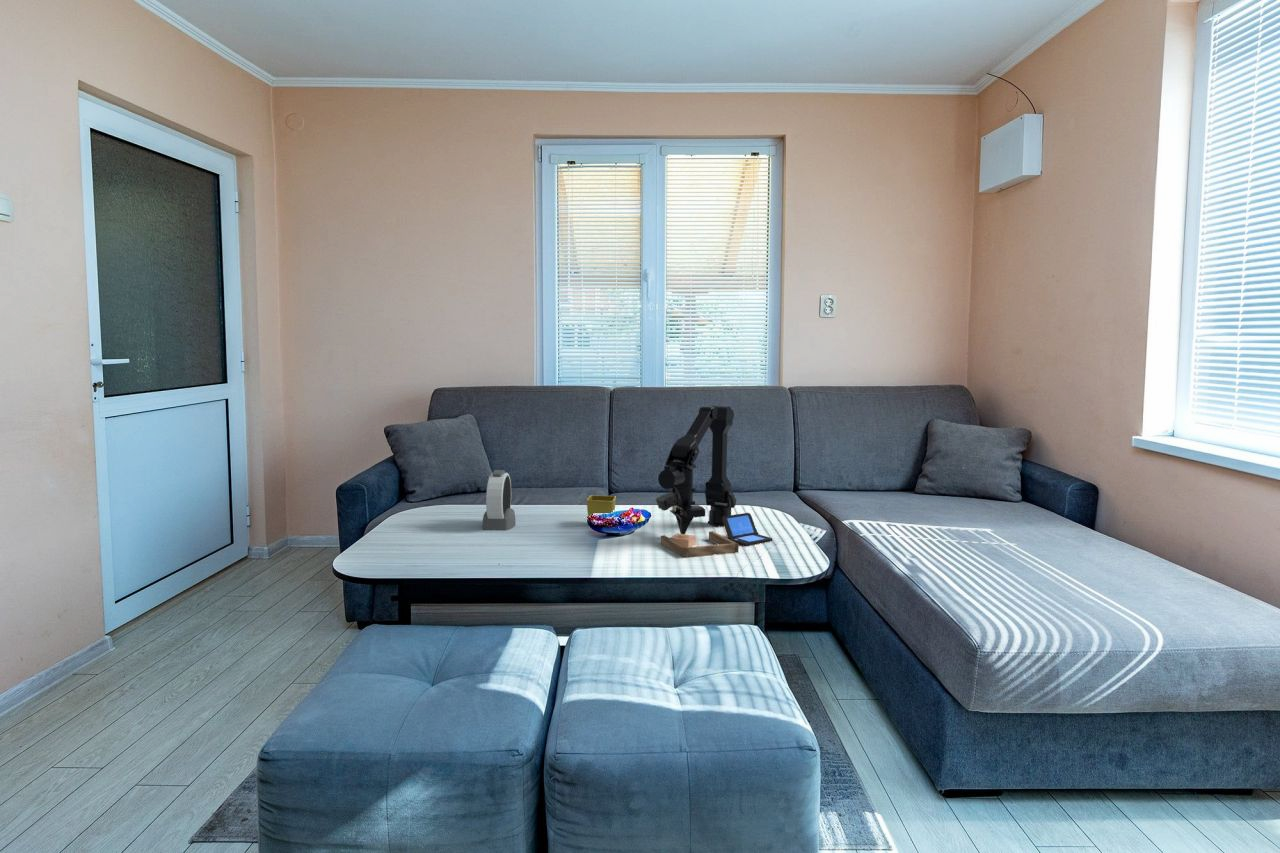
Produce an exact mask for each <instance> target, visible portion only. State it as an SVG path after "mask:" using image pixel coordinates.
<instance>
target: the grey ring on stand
mask: <svg viewBox="0 0 1280 853" xmlns="http://www.w3.org/2000/svg"><path fill="white" fill-rule="evenodd" d="M486 485H487V486H486V494H485V495H486V496H485V498H486V499H485V506H486V507H485V508H486V511H485V512H484V513H483V516H482V530H484V531H509V530H512V529H513V528H514V527H516V514H515V513H516V512H515V510H514V509H513V508H511V505H512V504H511V503H512V481H511V477H510V474H509V473H508V472H506V470H504V469H494V470H493V471H492V472H491V474H489V476H488V481H487V484H486Z"/></svg>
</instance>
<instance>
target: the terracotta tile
mask: <svg viewBox="0 0 1280 853" xmlns="http://www.w3.org/2000/svg"><path fill="white" fill-rule="evenodd" d="M669 538H670V539H672V540H674V541H675V542H677V543H679V544H681V545H683V546H684V547H686V548H687V547H695V546H696V535H693V534H686V533H685V534H680V533H675V534H674V535H672V536H670V537H669Z"/></svg>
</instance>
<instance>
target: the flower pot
mask: <svg viewBox="0 0 1280 853" xmlns="http://www.w3.org/2000/svg"><path fill="white" fill-rule="evenodd" d="M616 503H617V496H616V495H615V496H614V495H601V494H600V495H599V494H597V495H596V494H590V495H589V497H587V499H586V510H587V517H588V518H589V516H590V515H591V514H593V513H611V512H613V510H614V511H615V509H616Z"/></svg>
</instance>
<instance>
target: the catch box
mask: <svg viewBox="0 0 1280 853" xmlns="http://www.w3.org/2000/svg"><path fill="white" fill-rule="evenodd" d="M708 541H711V542H713V543H714V542H715V544H713V545H712V544H710V545H701V546H692V547H687V548H686V547H684V546H683V545H681V544H679V543H677V542H675V541H674V540H672V539H670V537H668V536H666V535H660V544H661V545H662V546H663V547H665V548H667V549H668V550H670V551H672V552H674V553H675V554H677V555H679V556H680V557H682V558H683V559H684V558H694V557H695V558H696V557H704V556H714V555H713V554H717V555H724V554H726V553H727V554H735V552H737V553H739V548H740V547H739V546H740V545H739V544H738V543H736V542H734V541H732V540H729V539H728V538H727V537H725V536H723V535H721V534H719V533H717V532H715V531H712V530H710V531H708ZM716 543H717V544H716ZM718 544H719V545H718ZM727 554H726V555H727Z"/></svg>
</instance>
